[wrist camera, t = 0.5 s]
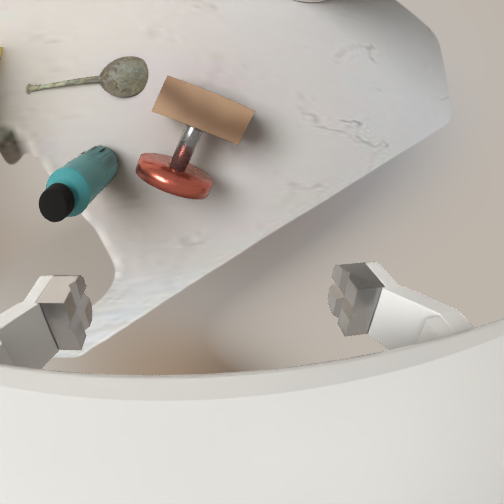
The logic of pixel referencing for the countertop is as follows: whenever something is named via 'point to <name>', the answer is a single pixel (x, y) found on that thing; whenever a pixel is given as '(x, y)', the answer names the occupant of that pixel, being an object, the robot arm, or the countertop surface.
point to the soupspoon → (112, 78)
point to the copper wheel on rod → (176, 169)
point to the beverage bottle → (77, 183)
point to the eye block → (203, 109)
